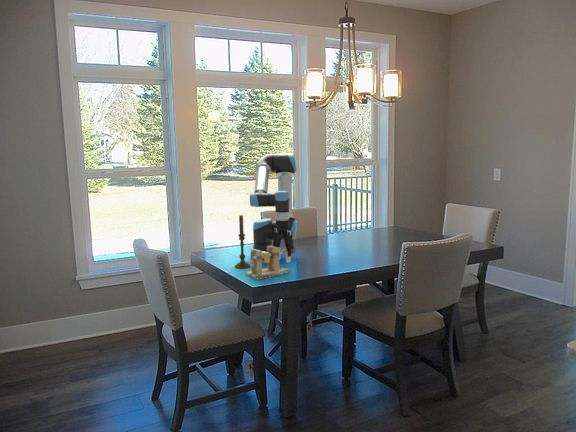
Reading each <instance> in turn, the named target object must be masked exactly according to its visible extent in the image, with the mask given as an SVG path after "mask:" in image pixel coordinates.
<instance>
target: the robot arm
mask: <svg viewBox="0 0 576 432" xmlns="http://www.w3.org/2000/svg"><path fill="white" fill-rule="evenodd" d="M254 169H255V170H254V171H255V173H256V174H255V175H256V176H255V183H254V192H253V193H250V194H249V205H250V207H253V208H259V207H260V208H261V207H262V208H263V207H265V208H266V207H270V208H271V207H274V209H275V220H273V219H272V218H262V219H257V220H256V221H255V220H254V222H253V224H252V231H253V232H252V233H253V246H252V249H257V250H260V251H265V252H267V246H275V247H279V251H280V250H282V249H281V247H282V246H281V242H282V241H284V246H285V250H286V249H287V250H286V254H285V263H291V261H292V260H291V257H292V254H291V250H293V249H294V248H295V247H294V241H293V240H295V239H296V238H297V237H296V236H297V230H298V229H297V228H298V220H296V217H295V216H294V215H293V177H294V176H295V173H297V165H296V158H295V155H294V153H267V154H265V155H264V156H262V157H261V158H260V159H259V160H258V161H257V162H256V164H255V168H254ZM271 173H275V177H277V191H275V192H271V193H269V192H268V191H269V181H270V180H269V178H270V174H271ZM291 247H292V248H291ZM281 258H282V255H279V260H281Z"/></svg>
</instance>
